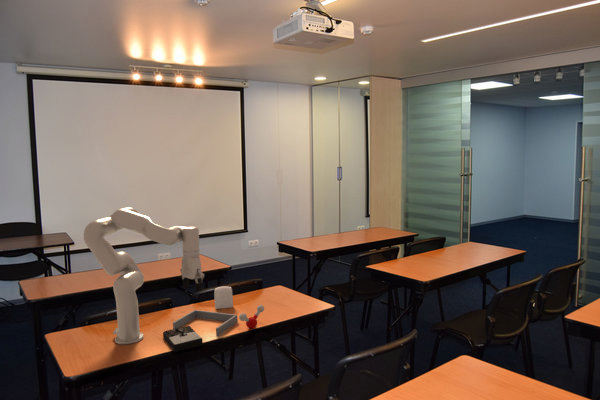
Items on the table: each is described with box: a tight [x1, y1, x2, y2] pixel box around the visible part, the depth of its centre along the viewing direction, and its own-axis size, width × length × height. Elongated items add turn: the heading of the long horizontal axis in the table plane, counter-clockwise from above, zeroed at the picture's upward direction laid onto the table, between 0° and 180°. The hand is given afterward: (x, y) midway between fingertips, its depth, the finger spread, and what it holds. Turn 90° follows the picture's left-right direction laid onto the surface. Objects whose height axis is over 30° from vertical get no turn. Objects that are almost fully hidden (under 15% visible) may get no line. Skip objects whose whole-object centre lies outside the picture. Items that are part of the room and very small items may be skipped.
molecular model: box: [238, 304, 265, 330], centre depth 215 cm, size 18×6×10 cm, turn 154°
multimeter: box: [162, 325, 204, 353], centre depth 201 cm, size 13×19×5 cm
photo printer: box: [213, 285, 234, 310], centre depth 247 cm, size 10×4×12 cm, turn 99°
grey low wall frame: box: [172, 309, 239, 337], centre depth 220 cm, size 26×19×4 cm
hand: (192, 289), depth 202 cm, fingers open, 9 cm apart
